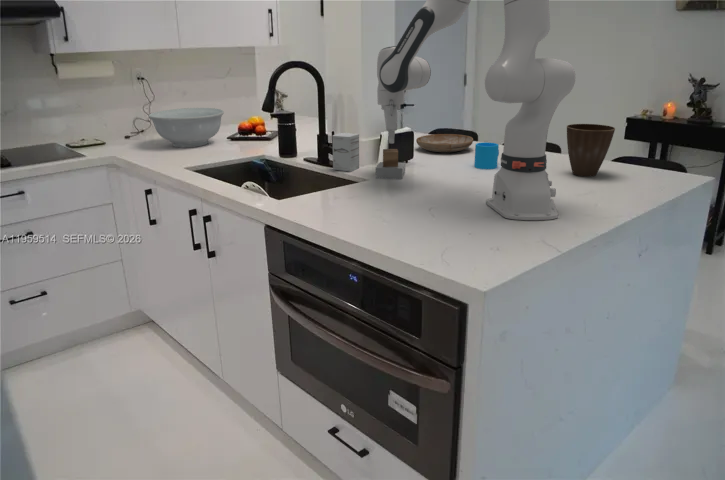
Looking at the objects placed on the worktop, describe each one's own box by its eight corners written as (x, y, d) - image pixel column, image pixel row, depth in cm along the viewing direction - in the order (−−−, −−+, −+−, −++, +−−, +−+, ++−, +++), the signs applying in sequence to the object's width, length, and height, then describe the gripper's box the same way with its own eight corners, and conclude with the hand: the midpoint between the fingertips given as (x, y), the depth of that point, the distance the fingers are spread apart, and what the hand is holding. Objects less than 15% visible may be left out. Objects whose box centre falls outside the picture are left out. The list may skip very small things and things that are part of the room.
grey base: (402, 180, 184) (402, 168, 183) (375, 179, 186) (375, 167, 185) (405, 173, 193) (405, 162, 191) (380, 173, 194) (380, 162, 193)
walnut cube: (398, 166, 186) (398, 151, 184) (383, 166, 186) (383, 152, 184) (397, 163, 190) (397, 149, 189) (382, 163, 190) (382, 149, 189)
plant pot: (587, 167, 195) (593, 122, 190) (618, 177, 182) (625, 128, 177) (552, 171, 191) (557, 125, 185) (581, 181, 178) (587, 131, 172)
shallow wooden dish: (422, 144, 244) (422, 132, 243) (475, 146, 237) (476, 134, 236) (410, 154, 224) (410, 142, 222) (468, 157, 217) (469, 144, 215)
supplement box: (332, 170, 198) (331, 135, 193) (342, 166, 204) (341, 132, 200) (350, 172, 195) (349, 136, 190) (360, 168, 201) (359, 133, 196)
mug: (489, 170, 194) (490, 147, 191) (469, 167, 200) (471, 144, 197) (506, 164, 202) (508, 142, 199) (487, 161, 208) (489, 140, 205)
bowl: (172, 154, 230) (167, 119, 224) (141, 144, 252) (136, 112, 247) (239, 144, 250) (236, 111, 245) (205, 136, 272) (202, 106, 267)
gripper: (401, 101, 170) (401, 145, 175) (399, 96, 189) (399, 136, 194) (381, 101, 170) (381, 146, 175) (381, 96, 190) (381, 136, 194)
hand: (391, 140), depth 184 cm, fingers open, 8 cm apart
